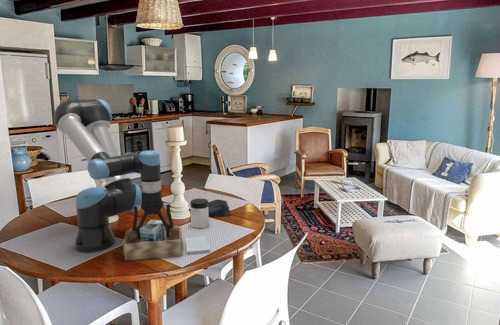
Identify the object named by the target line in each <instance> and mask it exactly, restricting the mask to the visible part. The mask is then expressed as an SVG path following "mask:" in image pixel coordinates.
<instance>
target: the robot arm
mask: <svg viewBox="0 0 500 325" xmlns="http://www.w3.org/2000/svg"><path fill="white" fill-rule="evenodd" d="M58 104H59V103H58ZM112 120H113V113H112V109H111V107H110V105H109V104H108V102H107V101H105V100H104V99H101V98H100V99H99V98H91V99H89V98H87V99H86V98H85V99H68V100H64V101H62V102H61V103H60V104H59V105H57V107H56V108H55V110H54V114H53V121H54V124H55V126H56V128H57V129H58V130H59V132H61V133H63V134H65V135H66V136H67V137H68V139H69V140H70V141H71V143H72V144H73V145H74V146H75V148H76V149H77V150H78V151H79V153H80V154H81V155H82V156H83V158H84V159H85V160H86V161H87V172H88V175H89V177H90V178H91V179H92V180H105V181H104V182H105V184H104V186H96V187H94V186H93V187H88V188H86V189H85V188H84V189H83V190H81V191H79V192H78V193H77V195H76V198H75V207H76V215H77V217H76V218H77V224H78V226H77V227H78V228H77V234H76V236H75V243H74V244H75V245H74V247H75V249H76V251H78V252H81V253H96V252H100V251H104V250H107V249H110V248H112V247H113V245H115V244H116V239H115V234H114V233H113V230H112V228H111V226H110V219H109V218H112V217H115V216H120V215H122V214H125V213H131V212H134V215H133V216H134V217H133V222H132V227H131V229H132V230H133V231H137V235H138V239H140V228H141V227H143V226H144V225H145V224H144V223H145V221H146V219H147V217H148V215H149V216H150V215H156V216H157V217H158V218H159V220H160V221H162V223H163V225H164V227H165V228H164V238H165V241H167V237H169V229H170V228H173V227H174V226H175V225H174V221H173V217H172V213H171V209H170V208H171V204H170V202H167V203H165V202H163V200H162V199H163V198H162V179H161V178H162V177H161V158H160V153H159V152H158V151H157V150H150V149H149V150H143V151H140V152H139V153H137V152H125V153H124V154H122V155H119V154H118V151H117V148H116V146H115V144H114V141H113V138H112V135H111V132H110V130H109V128H110V126H111V122H112ZM133 173H134V174H138V175H139V174H140V185H138V183H135V182H132V179H131V178H130V177H128V176H127V174H128V175H129V174H133ZM163 208H164V210H165V211H166V214H167V220H168V221H167V220H166V218H165V216H164V215H163V213H162V211H161V209H163ZM141 209H142V210H143V211H144V213H143V215H142V217H141V220H140V222H139V225H138V226H137V223H138V217H139V211H140V210H141ZM168 223H169V224H168Z"/></svg>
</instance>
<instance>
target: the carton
mask: <svg viewBox="0 0 500 325" xmlns="http://www.w3.org/2000/svg"><path fill="white" fill-rule="evenodd" d="M182 233H183V231H182V226H179V225H174V227H173V228H170V229H169V237H167V241H155V242H142V243H140V239H138V235H137V231H133V230H132V228H129V230H126V231H125V234H124V235H125V236H124V238H123V241H122V245H123V246H122V248H123V256H124V260H125V261H135V260H144V259H145V260H147V259H158V258H169V257H181V256H182V254H183V253H182V251H184V250H183V248H184V247H183V234H182Z"/></svg>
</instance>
